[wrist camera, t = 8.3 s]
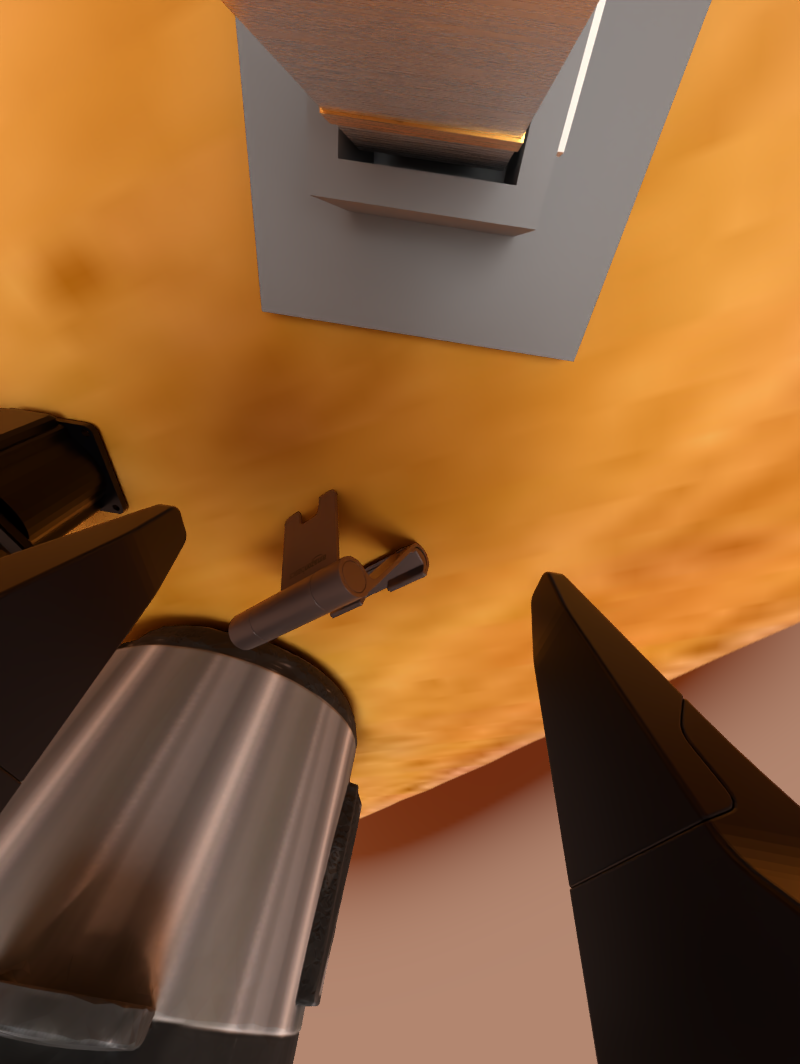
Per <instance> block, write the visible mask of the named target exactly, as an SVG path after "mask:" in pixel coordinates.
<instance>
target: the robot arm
mask: <svg viewBox="0 0 800 1064" xmlns="http://www.w3.org/2000/svg"><path fill="white" fill-rule="evenodd" d="M87 431H88V432H89V433H88V432H87ZM99 510H101V511H106V512H112V513H118V514H121V513H123V512H124V511H126V510H127V504H126V502H125V499H124V497H123V494H122V491H121V489H120V486H119V484H118V481H117V479H116V476H115V473H114V471H113V468H112V466H111V463H110V461H109V458H108V456H107V453H106V450H105V448H104V445H103V443H102V440H101V438H100V435H99V432H98V431H97V429H96V428H95V427H94V426H93V425H91V424H89V423H85V422H79V421H73V420H67V419H61V418H56V417H54V416H52V415H50V414H45V413H39V412H33V411H27V410H21V409H15V408H10V409H2V408H0V814H1V812H2V811H3V809H4V808H5V807H6V805H7V804H8V802H9V801H10V800H11V798H12V797H13V795H14V794H15V793H16V791H17V790H18V788H19V787H20V785H21V784H22V783H21V782H22V781H23V780H24V779H25V778H26V777H27V775H28V774H29V772H30V771H31V770H32V768H33V767H34V765H35V764H36V762H37V761H38V760H39V758H40V757H41V755H42V754H43V753H44V751H45V750H46V748H47V747H48V746H49V744H50V743H51V741H52V740H53V739H54V737H55V736H56V734H57V733H58V732H59V730H60V729H61V727H62V726H63V724H64V723H65V722H66V720H67V719H68V717H69V716H70V715H71V713H72V712H73V710H74V709H75V708H76V706H77V705H78V703H79V702H80V701H81V699H82V698H83V696H84V695H85V693H86V692H87V691H88V689H89V688H90V686H91V685H92V684H93V682H94V681H95V679H96V678H97V677H98V675H99V674H100V672H101V671H102V670H103V668H104V667H105V665H106V664H107V663H108V661H109V660H110V658H111V657H112V655H113V654H114V653H115V651H116V650H117V648H118V647H119V646H120V644H121V643H122V641H123V640H124V639H125V637H126V636H127V634H128V633H129V632H130V630H131V629H132V627H133V626H134V624H135V623H136V622H137V620H138V619H139V617H140V616H141V615H142V613H143V612H144V610H145V609H146V608H147V606H148V605H149V603H150V602H151V600H152V599H153V598H154V596H155V595H156V593H157V591H158V590H159V588H160V586H161V585H162V583H163V581H164V579H165V578H166V576H167V574H168V572H169V570H170V569H171V567H172V565H173V563H174V561H175V560H176V558H177V556H178V554H179V552H180V551H181V549H182V547H183V545H184V543H185V541H186V531H185V527H184V524H183V520H182V517H181V513H180V511H179V509H178V508H176V507H174V506H169V505H163V504H158V505H155V506H152V507H149V508H146V509H143V510H140V511H137V512H134V513H131V514H128V515H125V516H122V517H119V518H116V519H113V520H110V521H107V522H104V523H101V524H99V525H96V526H93V527H90V528H87V529H84V530H81V531H78V532H75V533H72V534H69V535H66V536H64V535H65V534H67V533H68V532H70V531H71V530H72V529H74V528H75V527H77V526H78V525H79V524H81V523H82V522H84V521H85V520H86V519H88V518H89V517H91V516H92V515H93V514H95V513H96V512H98V511H99ZM531 613H532V638H533V659H534V668H535V674H536V681H537V687H538V693H539V699H540V706H541V712H542V718H543V724H544V730H545V737H546V743H547V749H548V755H549V762H550V768H551V774H552V780H553V787H554V793H555V799H556V805H557V812H558V818H559V824H560V830H561V837H562V843H563V849H564V855H565V861H566V868H567V874H568V880H569V885H570V887H571V889H570V894H571V901H572V906H573V913H574V919H575V925H576V931H577V938H578V944H579V950H580V956H581V963H582V969H583V976H584V982H585V988H586V994H587V1000H588V1007H589V1013H590V1019H591V1025H592V1031H593V1038H594V1044H595V1050H596V1056H597V1062H598V1064H800V806H799V805H798V804H797V803H795V802H794V801H793V800H792V799H791V798H790V797H789V796H788V795H787V794H786V793H784V792H783V791H782V790H781V789H780V788H779V787H778V786H777V785H776V784H775V783H773V782H772V781H771V780H770V779H769V778H768V777H767V776H766V775H765V774H763V773H762V772H761V771H760V770H759V769H758V768H757V767H756V766H755V765H754V764H753V763H752V762H751V761H749V760H748V759H747V758H746V757H745V756H744V755H743V754H742V753H741V752H740V751H739V750H737V748H735V747H734V746H733V745H732V744H731V743H730V742H729V741H728V740H727V739H726V738H725V737H724V736H723V735H722V734H721V733H720V732H719V731H718V730H717V729H716V728H715V727H714V726H713V725H711V723H710V722H709V721H708V720H706V719H705V717H704V716H703V715H702V714H700V712H698V710H697V709H696V708H695V707H694V706H693V705H692V704H691V703H690V702H689V701H688V700H686V699H683V696H682V694H681V693H680V692H679V691H678V690H677V689H676V688H675V687H674V686H673V685H672V684H671V683H670V682H669V681H668V680H667V679H666V678H665V677H664V676H663V675H662V674H661V673H660V672H659V671H658V670H657V669H656V668H655V667H654V666H653V665H652V664H651V663H650V662H649V661H648V660H647V659H646V658H645V657H644V656H643V655H642V654H641V653H640V652H639V651H638V650H637V649H636V648H635V647H634V646H633V645H632V644H631V643H630V642H629V641H628V639H627V638H626V637H625V636H624V635H623V634H622V633H621V632H620V631H619V630H618V629H617V628H616V627H615V626H614V625H613V624H612V623H611V622H610V621H609V620H608V619H607V618H606V617H605V616H604V615H603V614H602V613H601V612H600V611H599V610H598V609H597V608H596V607H595V606H594V605H593V604H592V603H591V602H590V601H589V600H588V599H587V598H586V597H585V596H584V595H583V594H582V593H581V592H580V591H579V590H578V589H577V588H576V587H575V586H574V585H573V584H572V583H571V582H570V581H569V580H568V579H567V578H566V577H565V576H564V575H563V574H559V573H553V572H545V573H544V574H543V575H542V577H541V579H540V581H539V583H538V585H537V587H536V589H535V591H534V593H533V596H532V600H531Z"/></svg>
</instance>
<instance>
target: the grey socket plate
mask: <svg viewBox="0 0 800 1064" xmlns="http://www.w3.org/2000/svg"><path fill="white" fill-rule="evenodd" d="M710 3H711V0H599V2H598V4H597V6H596V7H595V9H594V11H593V13H592V15H591V16H590V18H589V20H588V22H587V23H586V25H585V27H584V29H583V31H582V32H581V34H580V36H579V38H578V39H577V41H576V43H575V45H574V46H573V48H572V50H571V52H570V54H569V55H568V57H567V59H566V61H565V62H564V64H563V66H562V68H561V70H560V71H559V73H558V75H557V77H556V78H555V80H554V82H553V84H552V86H551V87H550V89H549V91H548V93H547V94H546V96H545V98H544V100H543V101H542V103H541V105H540V107H539V109H538V110H537V112H536V114H535V116H534V117H533V119H532V121H531V123H530V125H529V126H528V128H527V130H526V132H525V137H524V141H523V144H522V146H521V147H520V149H519V151H518V152H515V151H514V153H513V155H512V156H511V158H510V160H509V162H508V164H507V165H506V167H505V169H504V171H496V170H490V169H483V168H476V167H470V166H463V165H456V164H450V163H443V162H437V161H430V160H423V159H417V158H410V157H403V156H397V155H390V154H383V153H377V152H370V151H363V150H359V149H358V148H357V147H356V146H355V145H354V143H353V142H352V141H351V140H350V139H349V138H348V137H347V136H346V135H345V134H344V133H343V132H342V130H341V129H340V128H339V127H338V126H337V125H334V124H330V123H329V122H328V121H327V120H326V119H325V118H324V117H323V116H322V115H321V114H320V108H319V106H318V105H317V103H316V102H315V101H314V100H313V99H312V98H311V97H310V96H309V95H308V94H307V93H306V92H305V91H304V89H303V88H302V87H301V86H300V85H299V84H298V83H297V82H296V81H295V80H294V79H293V78H292V76H291V75H290V74H289V73H288V72H287V71H286V70H285V69H284V68H283V67H282V66H281V65H280V63H279V62H278V61H277V60H276V59H275V58H274V57H273V56H272V55H271V54H270V53H269V52H268V51H267V49H266V48H265V47H264V46H263V45H262V44H261V43H260V42H259V41H258V40H257V39H256V38H255V36H254V35H253V34H252V33H251V32H250V31H249V30H248V29H247V28H246V27H245V26H244V25H243V24H242V22H241V21H240V20H239V19H238V18H237V17H236V16H235V17H236V28H237V39H238V51H239V62H240V73H241V84H242V95H243V106H244V117H245V128H246V140H247V151H248V162H249V173H250V184H251V195H252V206H253V217H254V229H255V240H256V251H257V262H258V273H259V284H260V295H261V306H262V311H264V312H270V313H276V314H282V315H288V316H295V317H301V318H307V319H313V320H319V321H326V322H332V323H338V324H344V325H350V326H357V327H363V328H369V329H375V330H381V331H388V332H394V333H400V334H406V335H413V336H419V337H425V338H431V339H437V340H444V341H450V342H456V343H462V344H468V345H475V346H481V347H487V348H493V349H499V350H506V351H512V352H518V353H524V354H530V355H537V356H543V357H549V358H555V359H561V360H568V361H574V359H575V357H576V354H577V351H578V349H579V346H580V343H581V341H582V338H583V336H584V333H585V330H586V328H587V325H588V323H589V320H590V317H591V315H592V312H593V309H594V307H595V304H596V302H597V299H598V296H599V294H600V291H601V288H602V286H603V283H604V281H605V278H606V275H607V273H608V270H609V268H610V265H611V262H612V260H613V257H614V254H615V252H616V249H617V247H618V244H619V241H620V239H621V236H622V233H623V231H624V228H625V226H626V223H627V220H628V218H629V215H630V212H631V210H632V207H633V205H634V202H635V199H636V197H637V194H638V192H639V189H640V186H641V184H642V181H643V178H644V176H645V173H646V171H647V168H648V165H649V163H650V160H651V157H652V155H653V152H654V150H655V147H656V144H657V142H658V139H659V137H660V134H661V131H662V129H663V126H664V123H665V121H666V118H667V116H668V113H669V110H670V108H671V105H672V102H673V100H674V97H675V95H676V92H677V89H678V87H679V84H680V81H681V79H682V76H683V74H684V71H685V68H686V66H687V63H688V61H689V58H690V55H691V53H692V50H693V47H694V45H695V42H696V40H697V37H698V34H699V32H700V29H701V26H702V24H703V21H704V19H705V16H706V13H707V11H708V8H709V6H710Z"/></svg>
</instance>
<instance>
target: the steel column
mask: <svg viewBox="0 0 800 1064" xmlns="http://www.w3.org/2000/svg"><path fill="white" fill-rule="evenodd" d="M221 1H222V2H223V3H224V4H225V5H226V6H227V7H228V8H229V9H230V11H231V12H232V13H233V14H234V15H235V16H236V17H237V18H238V19H239V20H240V21H241V22H242V24H243V25H244V26H245V27H246V28H247V29H248V30H249V31H250V32H251V33H252V34H253V35H254V36H255V38H256V39H257V40H258V41H259V42H260V43H261V44H262V45H263V46H264V47H265V48H266V49H267V51H268V52H269V53H270V54H271V55H272V56H273V57H274V58H275V59H276V60H277V61H278V62H279V63H280V65H281V66H282V67H283V68H284V69H285V70H286V71H287V72H288V73H289V74H290V75H291V76H292V78H293V79H294V80H295V81H296V82H297V83H298V84H299V85H300V86H301V87H302V88H303V89H304V91H305V92H306V93H307V94H308V95H309V96H310V97H311V98H312V99H313V100H314V101H315V102H316V103H317V105H318V106H319V108H320V114H321V115H322V116H323V117H324V118H325V119H326V120H327V121H328V122H329V123H330V124H334V125H337V126H338V127H339V128H340V129H341V130H342V132H343V133H344V134H345V135H346V136H347V137H348V138H349V139H350V140H351V141H352V142H353V143H354V145H355V146H356V147H357V148H358V149H359V150H363V151H370V152H377V153H383V154H390V155H397V156H403V157H410V158H417V159H423V160H430V161H437V162H443V163H450V164H456V165H463V166H470V167H476V168H483V169H490V170H496V171H504V169H505V167H506V165H507V164H508V162H509V160H510V158H511V156H512V155H513V153H514V151H515V152H518V151H519V149H520V147H521V146H522V144H523V141H524V137H525V132H526V130H527V128H528V126H529V125H530V123H531V121H532V119H533V117H534V116H535V114H536V112H537V110H538V109H539V107H540V105H541V103H542V101H543V100H544V98H545V96H546V94H547V93H548V91H549V89H550V87H551V86H552V84H553V82H554V80H555V78H556V77H557V75H558V73H559V71H560V70H561V68H562V66H563V64H564V62H565V61H566V59H567V57H568V55H569V54H570V52H571V50H572V48H573V46H574V45H575V43H576V41H577V39H578V38H579V36H580V34H581V32H582V31H583V29H584V27H585V25H586V23H587V22H588V20H589V18H590V16H591V15H592V13H593V11H594V9H595V7H596V6H597V4H598V2H599V0H221Z"/></svg>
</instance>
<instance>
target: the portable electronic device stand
mask: <svg viewBox="0 0 800 1064" xmlns="http://www.w3.org/2000/svg"><path fill="white" fill-rule="evenodd" d="M428 568H429V561H428V557H427V555H426V553H425V551H424V549H423V548H422V547H421V546H420V545H419V544H417V543H414V544H412V545H410V546H408V547H404V548H402V549H400V550H398V551H396V553H395V554H393V555H391V556H389V557H387V558H385V559H383V560H381V561H379V562H377V563H375V564H373V565H371V566H369V567H367V568H365V569H364V567H363V566H362V565H361V563H360V562H359V561H358V560H356V559H355V558H353V557H350V556H345V557H343V558H341V559H339V533H338V506H337V493H336V492H335V491H334V490H330V491H328V492H326V493H325V494H323V495H322V496H321V497H319V506H318V512H317V514H316V515H315V516H314V517H313V518H311V519H310V520H308V521H306V522H305V523H303V524H302V519H301V513H300V512H297V513H295V514H294V515H292V516H291V517H289V518H288V519H287V521H286V523H285V534H284V550H283V565H282V581H281V592H279V593H277V594H275V595H273V596H271V597H270V598H268V599H266V600H264V601H262V602H260V603H259V604H257V605H255V606H253V607H251V608H249V609H247V610H246V611H244V612H242V613H240V614H238V615H237V616H235V617H234V618H233V619H232V620H231V622H230V624H229V629H228V631H229V637H230V639H231V641H232V643H233V644H234V645H235V646H236V647H238V648H240V649H242V650H250V649H253V648H255V647H257V646H259V645H261V644H265V643H267V642H269V641H271V640H273V639H276V638H277V637H279V636H281V635H283V634H285V633H287V632H289V631H291V630H294V629H296V628H298V627H300V626H302V625H304V624H306V623H309V622H311V621H313V620H315V619H317V618H319V617H321V616H324V615H326V614H328V613H330V612H331V613H330V616H331V617H332V618H334V617H337V616H339V615H341V614H343V613H345V612H348V611H350V610H352V609H354V608H357V607H359V606H361V605H362V604H363V602H364V600H365V598H366V597H368V596H370V595H372V594H374V593H377V592H379V591H381V590H383V589H385V588H387V589H388V591H389V590H390V592H392V591H394V590H396V589H398V588H401V587H403V586H405V585H407V584H409V583H412V582H414V581H416V580H418V579H420V578H423V577H425V576H426V575H427V571H428Z"/></svg>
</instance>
